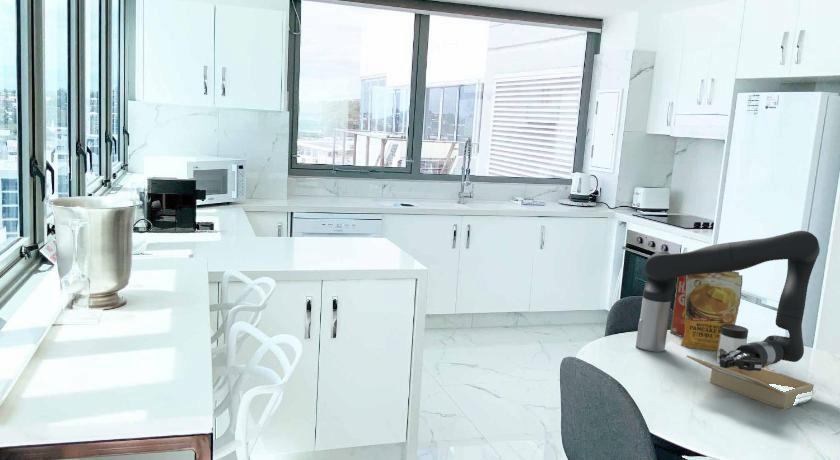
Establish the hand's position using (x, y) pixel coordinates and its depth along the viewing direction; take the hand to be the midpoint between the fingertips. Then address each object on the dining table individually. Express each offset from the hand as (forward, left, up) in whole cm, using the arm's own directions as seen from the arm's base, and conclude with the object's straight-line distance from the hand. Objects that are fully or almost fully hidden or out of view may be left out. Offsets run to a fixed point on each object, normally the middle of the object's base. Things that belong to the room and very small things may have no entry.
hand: (722, 363), depth 189 cm
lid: (+4, +6, -4) cm, 8 cm away
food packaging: (-10, +71, -12) cm, 73 cm away
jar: (+3, +44, -12) cm, 46 cm away
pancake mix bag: (-5, +57, -12) cm, 58 cm away
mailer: (+11, +20, -12) cm, 26 cm away
